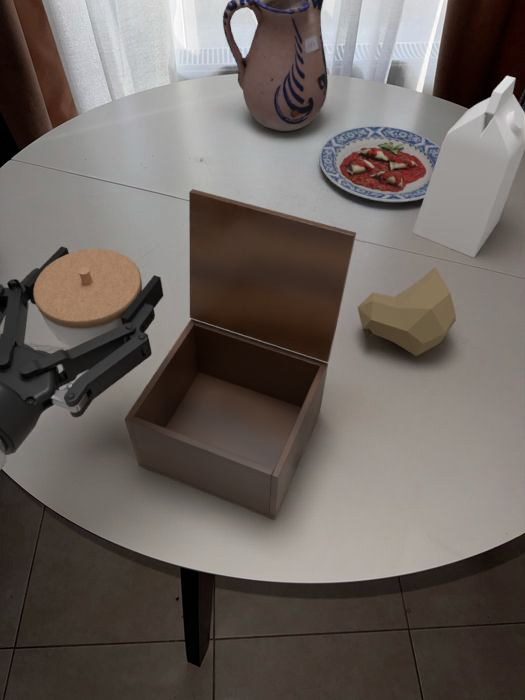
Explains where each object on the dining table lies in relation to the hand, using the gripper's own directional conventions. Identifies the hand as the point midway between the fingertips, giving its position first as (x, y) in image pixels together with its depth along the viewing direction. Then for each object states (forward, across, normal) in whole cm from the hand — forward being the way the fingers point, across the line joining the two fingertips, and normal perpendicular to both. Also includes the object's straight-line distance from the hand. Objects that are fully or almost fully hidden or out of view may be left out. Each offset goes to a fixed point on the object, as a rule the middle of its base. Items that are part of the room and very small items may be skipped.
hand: (112, 270), depth 62 cm
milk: (+54, +33, -23) cm, 67 cm away
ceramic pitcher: (+74, -10, -23) cm, 79 cm away
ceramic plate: (+66, +16, -23) cm, 72 cm away
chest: (-1, +14, -23) cm, 27 cm away
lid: (+8, +14, -3) cm, 17 cm away
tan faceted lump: (+25, +30, -23) cm, 45 cm away
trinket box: (-4, 0, -6) cm, 7 cm away
